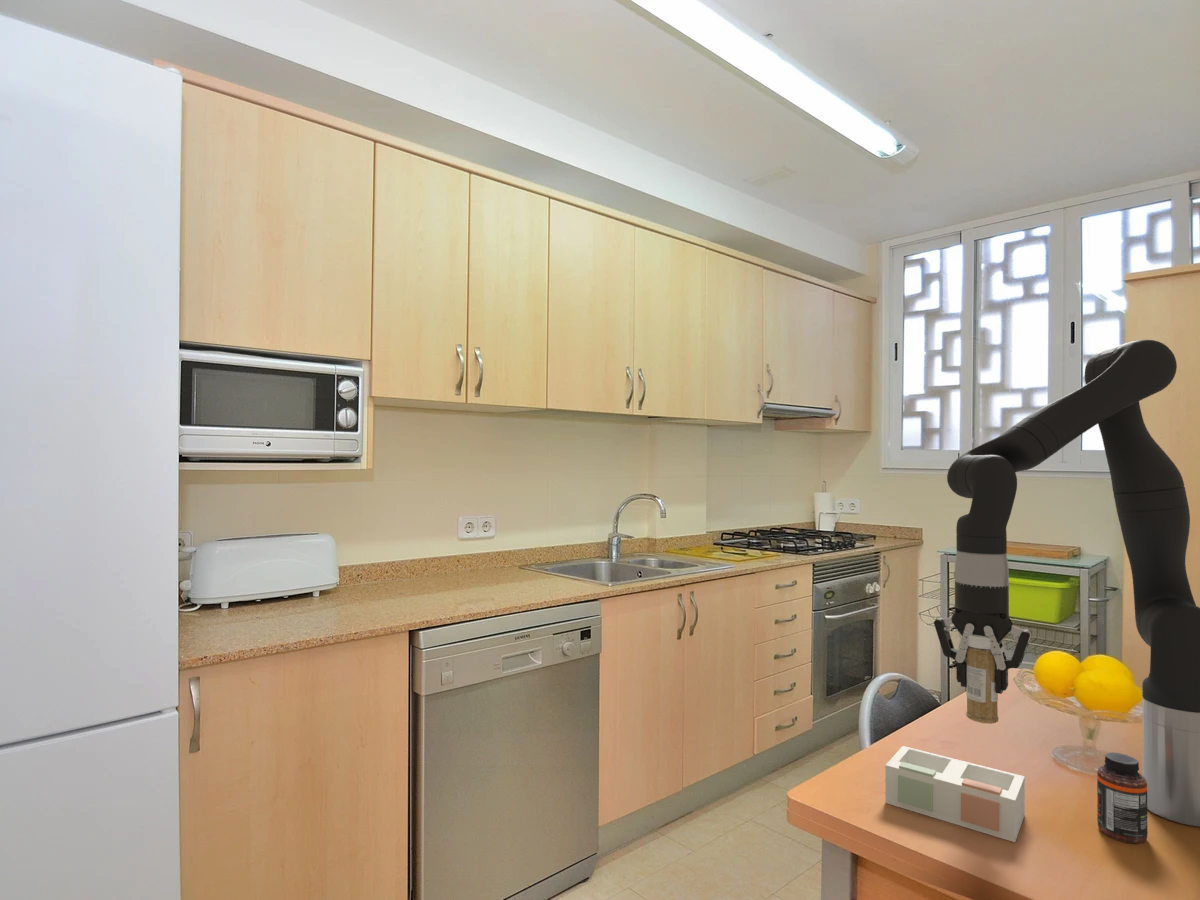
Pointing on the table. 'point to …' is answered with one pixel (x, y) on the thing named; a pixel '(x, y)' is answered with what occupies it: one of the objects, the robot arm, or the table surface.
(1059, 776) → the table surface
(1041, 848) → the table surface
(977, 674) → the spice jar
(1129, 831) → the supplement bottle
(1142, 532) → the robot arm
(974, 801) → the socket block
